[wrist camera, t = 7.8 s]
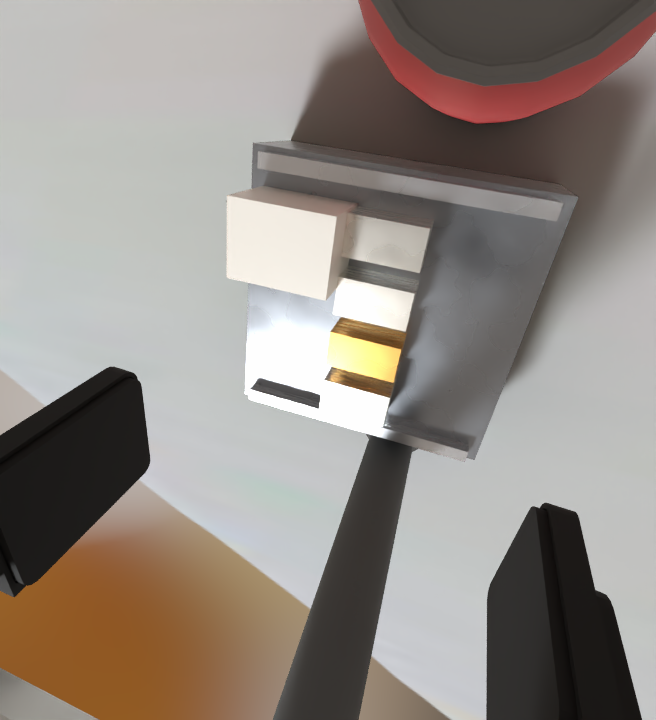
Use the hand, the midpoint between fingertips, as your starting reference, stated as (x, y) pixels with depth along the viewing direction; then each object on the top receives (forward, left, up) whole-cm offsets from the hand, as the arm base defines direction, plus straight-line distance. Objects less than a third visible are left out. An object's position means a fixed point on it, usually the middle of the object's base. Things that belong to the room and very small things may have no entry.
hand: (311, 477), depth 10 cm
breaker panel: (+1, 0, -14) cm, 14 cm away
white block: (+4, -3, -10) cm, 11 cm away
